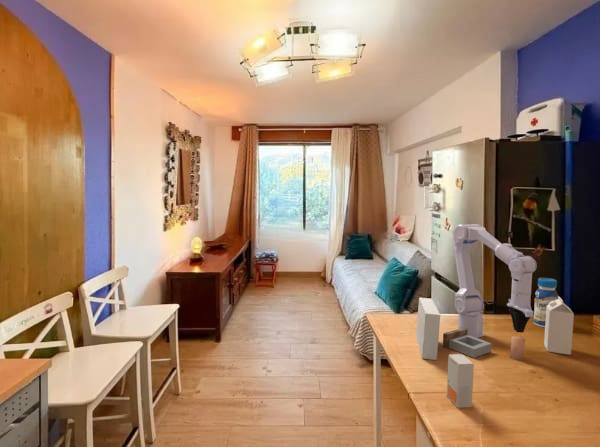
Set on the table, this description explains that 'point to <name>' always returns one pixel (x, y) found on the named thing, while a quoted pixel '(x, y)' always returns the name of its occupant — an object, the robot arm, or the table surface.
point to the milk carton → (558, 327)
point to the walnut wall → (453, 335)
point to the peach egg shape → (517, 347)
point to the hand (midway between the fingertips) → (518, 331)
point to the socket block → (470, 345)
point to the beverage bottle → (544, 299)
